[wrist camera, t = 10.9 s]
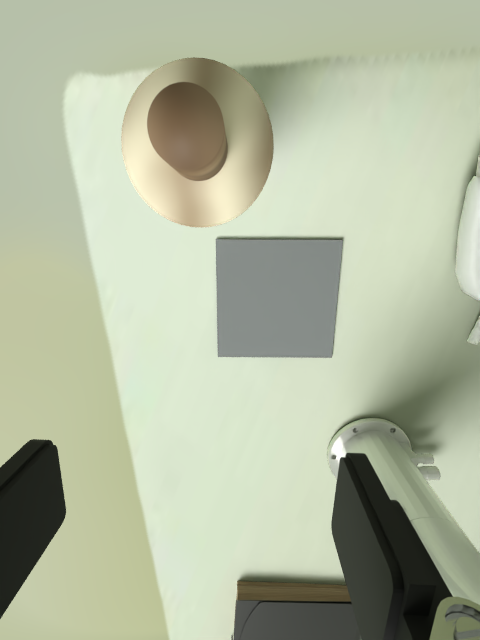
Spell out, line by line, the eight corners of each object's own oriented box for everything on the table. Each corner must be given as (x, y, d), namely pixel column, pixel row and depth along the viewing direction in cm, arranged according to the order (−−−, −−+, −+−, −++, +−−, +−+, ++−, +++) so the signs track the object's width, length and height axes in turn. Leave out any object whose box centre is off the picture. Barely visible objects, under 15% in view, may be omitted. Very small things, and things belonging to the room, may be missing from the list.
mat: (341, 239, 40) (342, 240, 40) (331, 356, 45) (331, 357, 44) (216, 239, 40) (215, 239, 40) (218, 355, 45) (217, 356, 44)
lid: (273, 64, 22) (285, 6, 16) (270, 226, 25) (279, 226, 19) (118, 65, 22) (75, 9, 17) (134, 227, 25) (102, 227, 20)
